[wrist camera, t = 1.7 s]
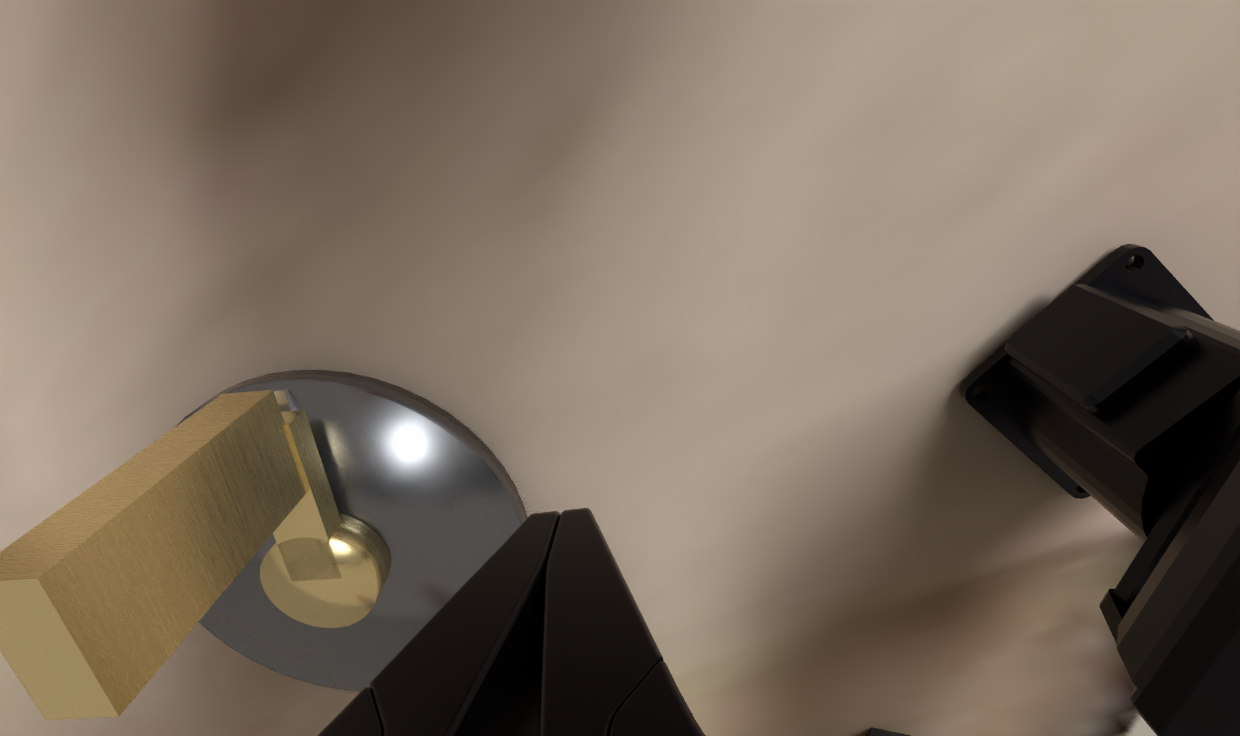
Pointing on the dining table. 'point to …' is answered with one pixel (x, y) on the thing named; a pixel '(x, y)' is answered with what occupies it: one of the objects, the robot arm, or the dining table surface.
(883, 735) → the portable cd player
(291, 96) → the dining table surface
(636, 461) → the dining table surface
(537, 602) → the robot arm
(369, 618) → the lock plate
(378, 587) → the gold bent piece
